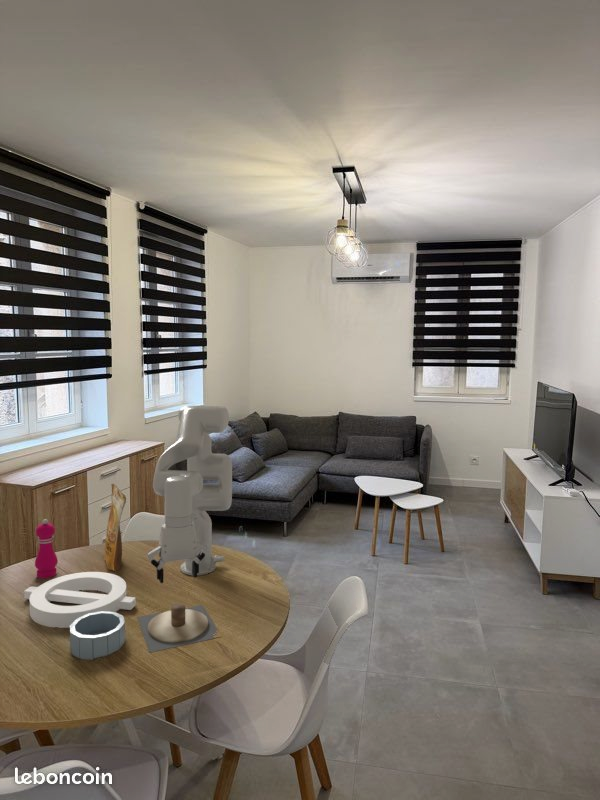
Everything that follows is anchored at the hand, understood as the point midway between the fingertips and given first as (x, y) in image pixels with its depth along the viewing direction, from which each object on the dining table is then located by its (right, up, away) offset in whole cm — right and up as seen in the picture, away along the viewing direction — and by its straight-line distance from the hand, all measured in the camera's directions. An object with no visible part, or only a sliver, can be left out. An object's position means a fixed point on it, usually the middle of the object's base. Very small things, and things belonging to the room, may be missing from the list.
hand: (178, 578), depth 158 cm
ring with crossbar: (-34, -13, +15) cm, 40 cm away
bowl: (-20, -16, -7) cm, 27 cm away
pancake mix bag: (-34, -9, +47) cm, 59 cm away
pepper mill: (-54, -10, +35) cm, 65 cm away
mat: (0, -15, +2) cm, 15 cm away
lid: (0, -15, +2) cm, 15 cm away
